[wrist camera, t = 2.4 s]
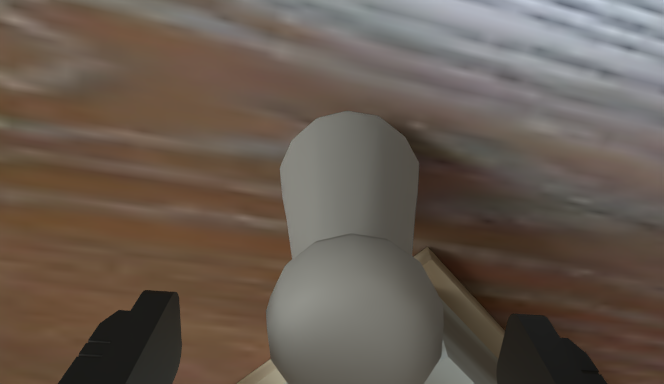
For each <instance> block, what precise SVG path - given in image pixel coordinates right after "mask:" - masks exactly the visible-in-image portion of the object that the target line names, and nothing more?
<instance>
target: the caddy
mask: <svg viewBox="0 0 664 384" xmlns="http://www.w3.org/2000/svg"><path fill="white" fill-rule="evenodd" d="M414 258H415V259H417V260H418V261H419V262H421V264H422V266H423V268H424V270H425V271H426V273H427V275H428V277H429V279H430V280H431V282H432V284H433V286H434V288H435V289H436V291H437V293H438V296H439V298H440V300H441V303H442V305H443V318H444V328H443V342H442V355H441V358H440V360H439V361H438V363H437V364H436V366H435V367H434V369H433V371H432V372H431V374H430V375H429V377H428V378H427V380H426V381H425V383H424V384H497V377H496V369H497V362H498V358H499V354H500V350H501V346H502V342H503V338H504V334H505V330H504V329H503V328H502V327H501V326H500V325H499V324H498V323H497V322H496V321H495V320H494V318H493V317H492V316H491V315H490V314H489V313H488V312H487V311H486V310H485V309H484V308H483V307H482V305H481V304H480V303H479V302H478V301H477V300H476V299H475V298H474V297H473V296H472V295H471V293H470V292H469V291H468V290H467V289H466V288H465V287H464V286H463V285H462V284H461V283H460V282H459V280H458V279H457V278H456V277H455V276H454V275H453V274H452V273H451V272H450V271H449V270H448V269H447V267H446V266H445V265H444V264H443V263H442V262H441V261H440V260H439V259H438V258H437V257H436V255H435V254H434V253H433V252H432V251H431V250H430V249H429V248H428V247H426V248H425V249H424V250H422V251H421V252H419V253H418V254H417V255H415V256H414ZM237 384H288V383H287V382H286V380H285V379H284V378H283V376H282V375H281V373H280V372H279V371H278V369H277V368H276V366H275V365H274V364H273V362H272V361H271V359H270V360H269V361H267V362H266V363H265V364H263V365H262V366H260V367H259V368H258V369H256V370H255V371H253V372H252V373H251V374H249V375H248V376H246V377H245V378H244V379H242V380H241V381H239V382H238V383H237Z"/></svg>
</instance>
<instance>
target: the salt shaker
mask: <svg viewBox="0 0 664 384" xmlns="http://www.w3.org/2000/svg"><path fill="white" fill-rule="evenodd" d="M280 175H281V186H282V197H283V202H284V208H285V213H286V218H287V224H288V232H289V239H290V246H291V254H292V260H291V261H290V262H289V263H288V264H287V265H286V266H285V267H284V269H283V271H282V273H281V275H280V278H279V280H278V282H277V284H276V286H275V288H274V290H273V292H272V294H271V297H270V300H269V303H268V307H267V310H266V318H267V332H268V340H269V347H270V355H271V361H272V362H273V364H274V365H275V366H276V368H277V369H278V371H279V372H280V373H281V375H282V376H283V378H284V379H285V380H286V382H287V383H288V384H424V383H425V381H426V380H427V378H428V377H429V375H430V374H431V372H432V371H433V369H434V367H435V366H436V364H437V363H438V361H439V360H440V358H441V355H442V342H443V328H444V318H443V305H442V303H441V300H440V298H439V296H438V293H437V291H436V289H435V288H434V286H433V284H432V282H431V280H430V279H429V277H428V275H427V273H426V271H425V270H424V268H423V266H422V264H421V262H419V261H418V260H417V259H415V258H414V257H412V248H413V236H414V223H415V211H416V203H417V195H418V178H419V162H418V160H417V158H416V156H415V154H414V153H413V151H412V149H411V147H410V145H409V143H408V141H407V139H406V137H405V136H404V135H402V134H401V133H400V132H398V131H397V130H396V129H395V128H393V127H392V126H391V125H389V124H388V123H387V122H386V121H384V120H383V119H382V118H380V117H379V116H376V115H370V114H364V113H357V112H351V111H344V112H340V113H336V114H332V115H328V116H324V117H320V118H317V119H315V120H314V121H313V122H312V123H311V124H310V125H309V126H307V127H306V128H305V129H304V130H303V131H302V132H301V133H299V134H298V135H297V136H296V137H295V138H294V139H293V140H292V141H291V143H290V146H289V148H288V150H287V153H286V155H285V157H284V160H283V162H282V164H281V167H280Z"/></svg>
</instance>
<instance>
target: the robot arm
mask: <svg viewBox="0 0 664 384" xmlns="http://www.w3.org/2000/svg"><path fill="white" fill-rule="evenodd" d="M181 349H182V341H181V324H180V306H179V296H178V293H177V292H167V291H151V290H145V291H143V292H142V294H141V295H140V297H139V298H138V300H137V301H136V303H135V305H134V306H133V308H132V309H131V311H124V310H118V311H117V312H115V313H114V314H112V315H111V316H110V317H108V318H107V319H105V320H104V321H103V322H101V323H100V324H99V325H98V327H97V328H96V330H95V331H94V333H93V334H92V336H91V337H90V338H89V341H88V343H86V344H85V346H84V347H83V348H82V350H81V351H80V353H79V357H76V358H75V360H74V361H73V363H72V364H71V366H70V367H69V368H68V370H67V371H66V373H65V374H64V376H63V377H62V379H61V380H60V381H59V383H58V384H172V383H173V380H174V378H175V375H176V373H177V370H178V367H179V363H180V358H181ZM598 372H599V371H598V369H597V368H596V367H595V365H594V364H593V362H592V361H591V359H590V358H589V356H588V355H587V354H586V353H585V352H584V351H583V350H581V349H580V348H579V347H578V346H577V345H575V344H574V343H573V342H572V341H570V340H569V339H568V338H560V337H559V335H558V334H557V332H556V331H555V329H554V328H553V326H552V324H551V323H550V321H549V320H548V318H547V317H545V316H543V315H526V314H511V315H510V317H509V319H508V322H507V326H506V330H505V334H504V338H503V342H502V346H501V350H500V354H499V358H498V362H497V369H496V377H497V384H607V383H606V381H605V380H604V378H603V377H602V375H600V374H599V373H598Z"/></svg>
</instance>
